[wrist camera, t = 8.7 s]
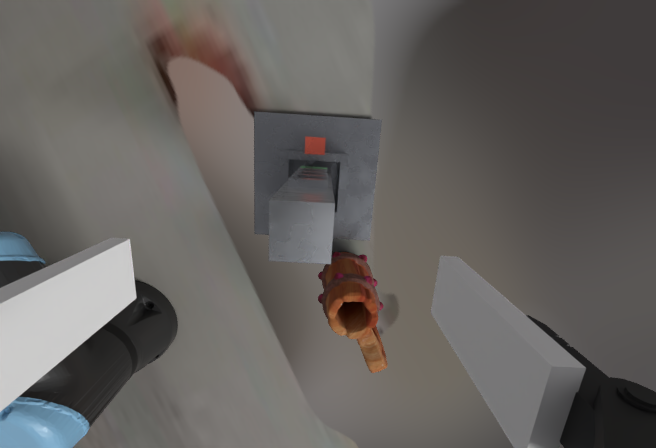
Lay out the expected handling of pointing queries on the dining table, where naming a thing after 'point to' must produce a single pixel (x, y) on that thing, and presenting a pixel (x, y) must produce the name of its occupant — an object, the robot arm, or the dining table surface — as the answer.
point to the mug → (353, 304)
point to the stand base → (318, 164)
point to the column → (303, 218)
